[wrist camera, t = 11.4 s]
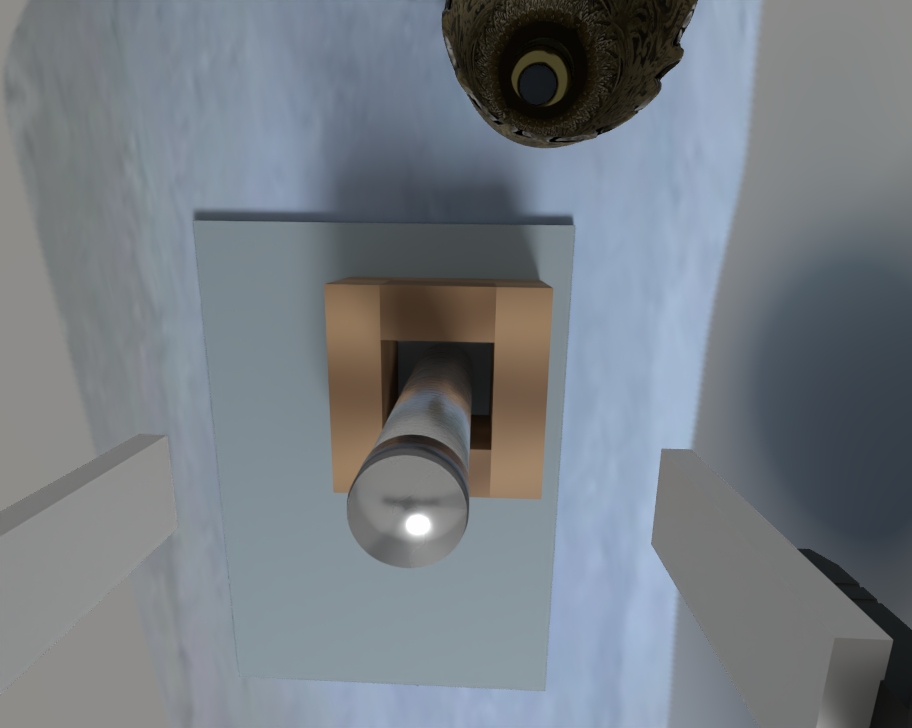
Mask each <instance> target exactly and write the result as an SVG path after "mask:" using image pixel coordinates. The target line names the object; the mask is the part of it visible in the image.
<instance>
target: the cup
mask: <svg viewBox="0 0 912 728" xmlns="http://www.w3.org/2000/svg"><path fill="white" fill-rule="evenodd" d="M697 1H698V0H446V4H445V9H444V11H443V12H442V30H443V37H444V41H445V45H446V48H447V51H448V55H449V58H450V61H451V63H452V66H453V68H454V70H455V75H456V77H457V79H458V81H459V83H460V85H461V86H462V88H463V89H464V90H465V92H466V94H467V95H468V97H469V99H470V100H471V102H472V104H473V105H474V107H475V108H476V110H477V111H478V113H479V114H480V115H481V116H482V118H483V119H484V120H485V121H486V122H487V123H488V124H489V125H490V126H491V127H492V128H493V129H494V130H496V131H497V132H498V133H500V134H501V135H503V136H504V137H506V138H508V139H510V140H512V141H514V142H516V143H519V144H522V145H525V146H530V147H536V148H556V147H562V146H567V145H571V144H574V143H578V142H581V141H584V140H588V139H593V138H596V137H597V136H598V135H600V134H602V133H605V132H608V131H610V130H612V129H614V128H616V127H617V126H619V125H621V124H623V123H624V122H626V121H628V120H629V119H630V118H632V117H633V116H634V115H635V114H637V113H638V111H639V110H641V109H643V108H644V107H646V106H647V105H648V104H649V103H650V102H651V101H652V100H653V99H654V98H655V97H656V96H657V95H658V93H659V92H660V90H661V82H660V80H661V78H662V77H663V76H664V75H665V74H666V73H667V72H668V71H670V70H671V69H672V68H673V67H675V66H676V65H677V64H678V63H679V62H680V60H681V59H682V56H683V53H684V50H683V49H682V48H681V46H680V43H679V42H680V39H681V37H682V35H683V33H684V31H685V29H686V28H687V26H688V24H689V22H690V21H691V18H692V16H693V13H694V10H695V7H696V4H697ZM535 64H543V65H546V66H548V67H549V68H550V69H551V70H552V71H553V72H554V74H555V77H556V82H557V85H556V90H555V93H554V95H553V96H552V97H551V99H550V100H548V101H547V102H545V103H543V104H539V105H535V104H531V103H529V102H527V101H526V100H525V99H524V98H523V96H522V95H521V92H520V88H519V83H520V78H521V76H522V74H523V72H524V71H525V70H526V69H527V68H528V67H530V66H532V65H535Z"/></svg>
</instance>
